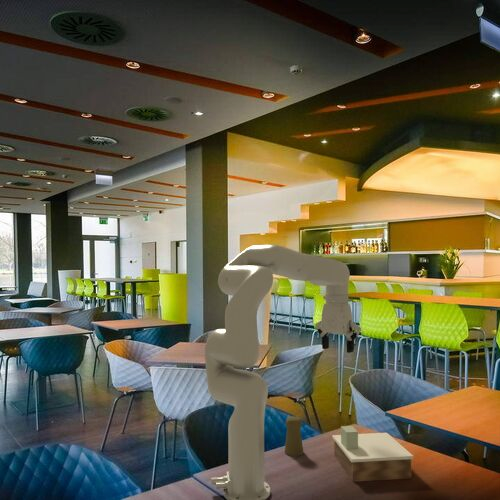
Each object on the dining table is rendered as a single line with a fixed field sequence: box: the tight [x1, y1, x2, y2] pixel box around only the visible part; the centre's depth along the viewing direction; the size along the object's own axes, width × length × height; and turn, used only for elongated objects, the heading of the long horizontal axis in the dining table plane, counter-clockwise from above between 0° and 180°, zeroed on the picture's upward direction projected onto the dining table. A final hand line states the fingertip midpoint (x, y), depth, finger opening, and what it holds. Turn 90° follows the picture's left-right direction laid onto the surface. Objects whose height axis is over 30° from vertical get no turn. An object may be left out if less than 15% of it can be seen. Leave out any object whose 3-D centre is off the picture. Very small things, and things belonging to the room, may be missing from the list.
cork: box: [284, 415, 304, 457], centre depth 144 cm, size 6×6×11 cm
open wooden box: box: [333, 440, 412, 483], centre depth 134 cm, size 17×17×6 cm
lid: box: [331, 425, 414, 462], centre depth 134 cm, size 18×18×6 cm
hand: (337, 350), depth 152 cm, fingers open, 9 cm apart
